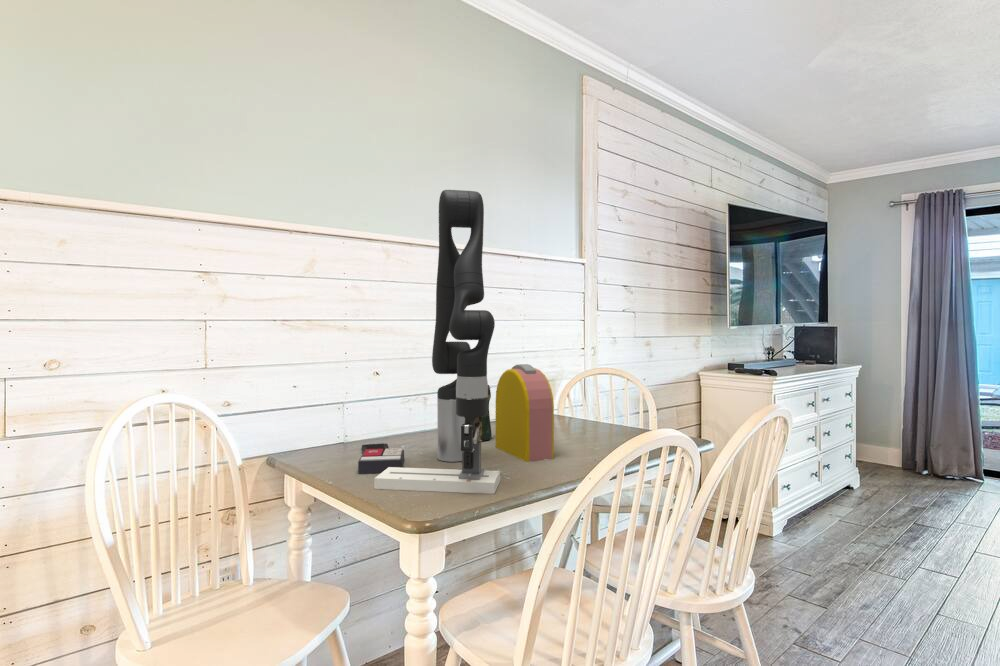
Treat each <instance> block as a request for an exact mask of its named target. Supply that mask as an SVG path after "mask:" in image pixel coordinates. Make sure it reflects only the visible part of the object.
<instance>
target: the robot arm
mask: <svg viewBox="0 0 1000 666" xmlns="http://www.w3.org/2000/svg"><path fill="white" fill-rule="evenodd" d="M484 214H485V209H484V199H483V196H482V194H481V193H480V192H478V191H477V190H475V191H474V190H463V189H462V190H460V189H444V190H442V191H441V192H440V195H439V199H438V259H437V260H438V261H437V273H436V287H435V289H436V292H435V325H434V326H435V327H434V335H433V345H432V355H431V365H432V370H433V371H434V373H436V374H438V375H456V378H455V380H453V381H451V382H450V383H447V384H446V385H443V386H440V387H439V388H437V391H436V393H437V397H436V398H437V399H436V400H437V402H436V403H437V406H436V407H437V459H438V460H439V461H442V462H447V463H448V462H451V463H452V462H453V463H455V462H462V451H463V452H464V469H473V467H474V445H475V444H476V443H477V441H481V439H482V417H483V416H486V415H487V414H488V385H489V382H488V356H489V355H488V354H489V349H490V344H491V341H492V338H493V334H494V331H495V326H496V325H495V318H494V316H493V314H492V312H490V311H489V310H486V309H485V310H484V309H481V310H479V309H477V310H476V309H468V310H467V309H466V308H467V307H468V306H473V305H476V304H479V303H481V302H482V301H483V300H484V299H485V288H484V276H483V275H484V273H483V248H484V225H485V223H484V222H485V221H484V216H485V215H484ZM452 228H457V229H458V228H460V229H461V228H462V229H463V228H464V229H465V228H467V229H470V235H469V238H468V241H467V242H466V245H465V246H464V248H463V250H462V252H461V253H459V249H458V248H457V246H456V244H455V241H454V239H453V235H452ZM449 334H450V335H451V337H453V338H454V340H457V341H447V339H448V336H449ZM467 341H477V343H476V345H475V347H473V348H471V345H470V344H469V342H467ZM481 442H482V441H481ZM466 444H470V446H466Z"/></svg>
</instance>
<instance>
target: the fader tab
mask: <svg viewBox="0 0 1000 666" xmlns="http://www.w3.org/2000/svg"><path fill="white" fill-rule="evenodd" d="M466 446H470V444H466ZM461 462H462V463H461V470H462V471H461V473H460V474H459V479H479V480H480V479H481V477H482V475H483V474H484V471H485V468H482V441H477V443H476V444H475V445H474V467H473V469H464V452H463V451H462V461H461Z"/></svg>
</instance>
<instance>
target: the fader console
mask: <svg viewBox="0 0 1000 666" xmlns="http://www.w3.org/2000/svg"><path fill="white" fill-rule="evenodd" d="M461 471H462V469H454V468H453V469H451V468H450V469H449V468H448V469H447V468H423V467H422V468H421V467H403V468H400V467H388V468H387V469H386V470H384V471H383V472H382V473H381V474H377V476H375V477H374V479H373V480H374V483H373V484H374V490H390V491H392V490H394V491H413V492H414V491H415V492H416V491H419V492H437V493H438V492H439V493H440V492H441V493H442V492H443V493H460V494H461V493H465V494H484V495H485V494H489V495H495V493H496V492H497V488H498V486H499V484H500V482H501V471H500V470H484V474H483V475H482V477H481V479H480V480H479V479H459V474H460V473H461Z"/></svg>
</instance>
